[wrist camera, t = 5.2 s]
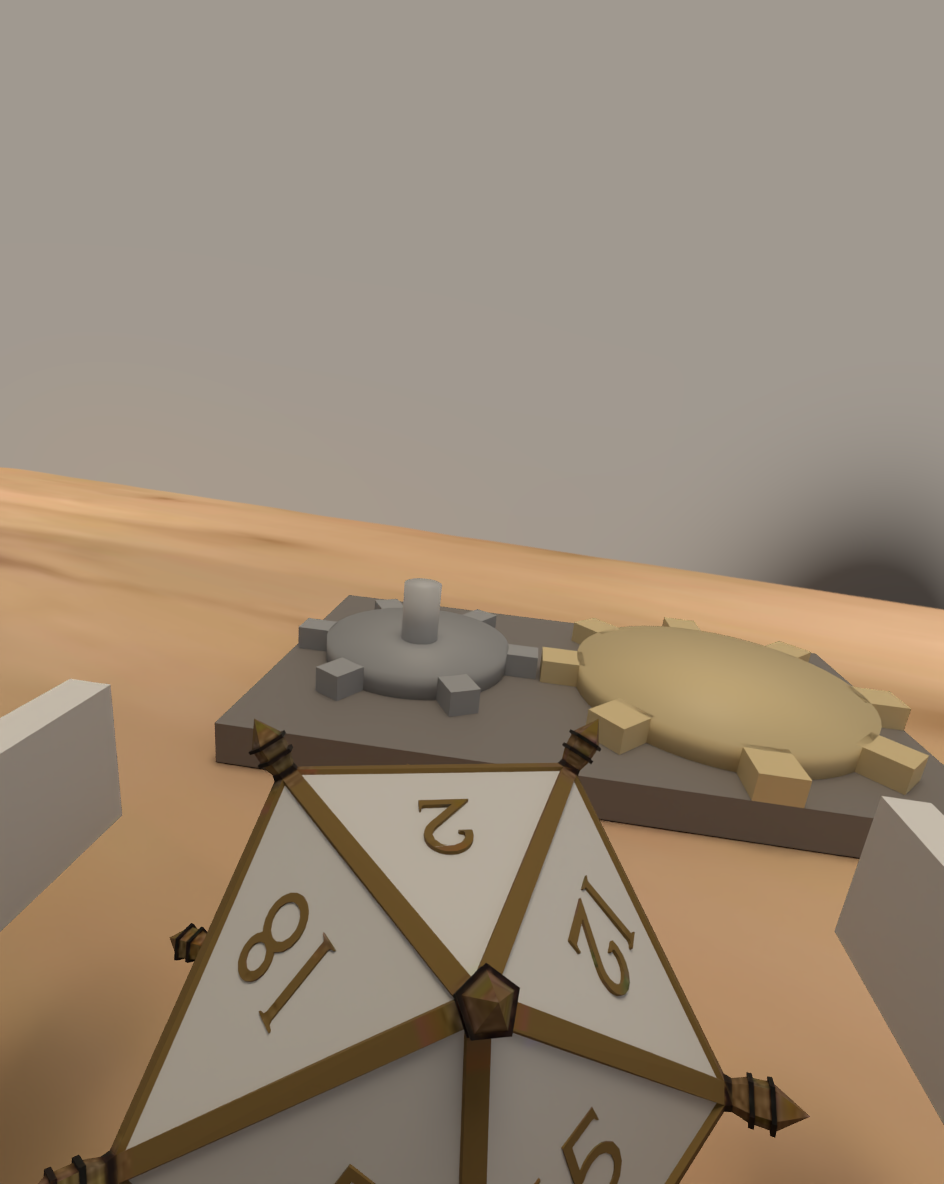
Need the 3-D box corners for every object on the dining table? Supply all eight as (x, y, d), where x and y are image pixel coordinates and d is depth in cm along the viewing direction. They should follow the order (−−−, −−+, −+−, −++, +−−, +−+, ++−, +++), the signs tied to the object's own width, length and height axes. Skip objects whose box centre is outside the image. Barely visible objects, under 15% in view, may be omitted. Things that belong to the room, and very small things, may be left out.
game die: (285, 1322, 11) (-6, 857, 10) (590, 970, 15) (392, 624, 15) (580, 2788, 3) (-507, 1231, 3) (1045, 1228, 7) (654, 503, 7)
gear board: (216, 761, 21) (211, 626, 19) (348, 619, 35) (351, 535, 34) (1013, 881, 19) (1075, 740, 17) (808, 678, 33) (833, 592, 32)
